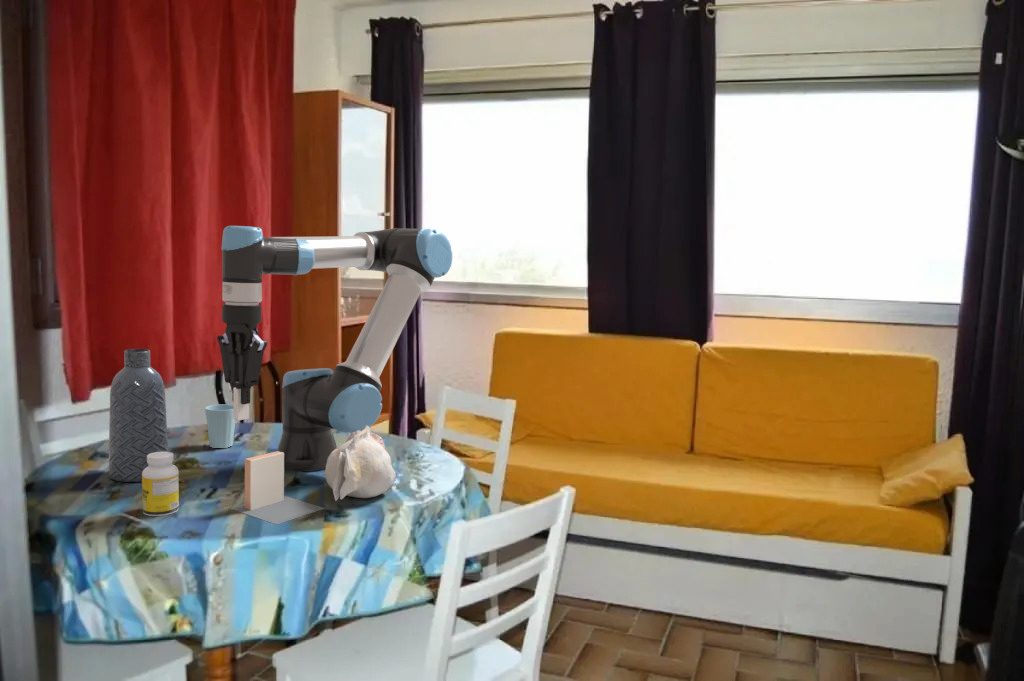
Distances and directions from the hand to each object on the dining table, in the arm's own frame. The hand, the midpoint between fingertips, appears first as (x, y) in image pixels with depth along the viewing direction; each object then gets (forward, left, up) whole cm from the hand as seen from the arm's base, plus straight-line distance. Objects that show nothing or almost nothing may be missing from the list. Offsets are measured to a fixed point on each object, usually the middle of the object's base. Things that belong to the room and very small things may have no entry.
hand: (241, 418), depth 158 cm
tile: (+7, 0, -17) cm, 18 cm away
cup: (-39, +23, -17) cm, 49 cm away
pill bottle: (-5, -15, -17) cm, 23 cm away
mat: (+11, 0, -17) cm, 20 cm away
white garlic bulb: (+16, +17, -17) cm, 28 cm away
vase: (-31, -4, -17) cm, 36 cm away
